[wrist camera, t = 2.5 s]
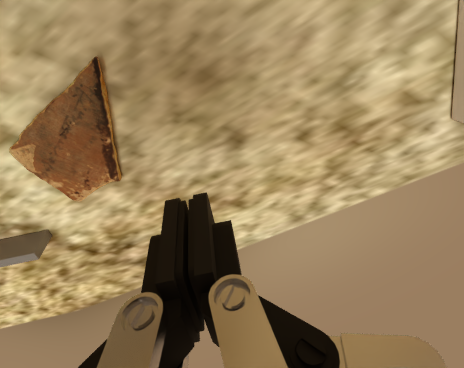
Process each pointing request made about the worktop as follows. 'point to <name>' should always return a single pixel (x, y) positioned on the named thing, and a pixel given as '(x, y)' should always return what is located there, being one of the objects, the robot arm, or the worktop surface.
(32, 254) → the grey u-shaped bracket
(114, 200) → the worktop surface
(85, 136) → the shard
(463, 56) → the skincare box
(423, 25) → the worktop surface
